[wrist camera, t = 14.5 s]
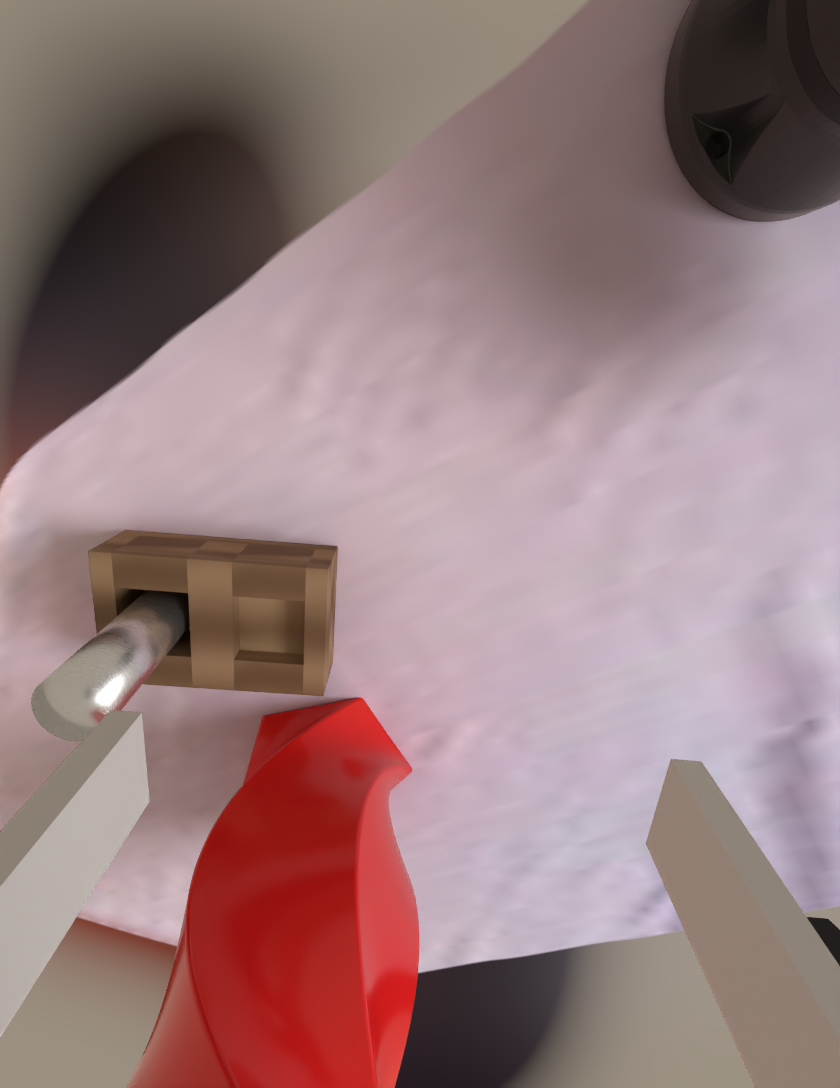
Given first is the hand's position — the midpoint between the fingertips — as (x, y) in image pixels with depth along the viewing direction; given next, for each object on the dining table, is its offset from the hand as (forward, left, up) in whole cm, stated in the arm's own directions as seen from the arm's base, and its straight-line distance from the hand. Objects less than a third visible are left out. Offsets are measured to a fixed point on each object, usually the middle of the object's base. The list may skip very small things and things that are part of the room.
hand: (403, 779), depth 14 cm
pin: (+9, -17, -27) cm, 34 cm away
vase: (+23, -5, -29) cm, 37 cm away
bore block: (+9, -13, -29) cm, 33 cm away
